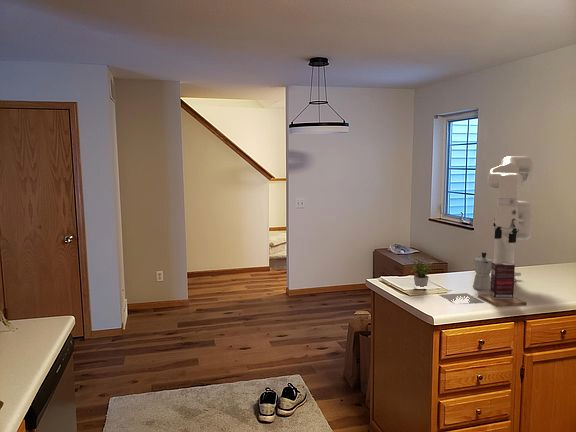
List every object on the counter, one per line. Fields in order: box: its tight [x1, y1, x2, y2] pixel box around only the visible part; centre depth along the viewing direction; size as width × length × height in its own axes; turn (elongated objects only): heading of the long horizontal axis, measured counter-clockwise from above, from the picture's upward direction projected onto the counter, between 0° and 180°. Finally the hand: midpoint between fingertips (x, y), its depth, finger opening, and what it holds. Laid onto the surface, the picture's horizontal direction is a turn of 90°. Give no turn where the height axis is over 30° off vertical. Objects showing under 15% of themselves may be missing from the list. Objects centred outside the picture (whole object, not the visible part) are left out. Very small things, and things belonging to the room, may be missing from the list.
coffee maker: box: [472, 252, 494, 291], centre depth 216 cm, size 15×9×18 cm, turn 168°
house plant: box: [408, 256, 436, 287], centre depth 215 cm, size 14×14×16 cm
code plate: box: [440, 292, 485, 304], centre depth 200 cm, size 14×14×1 cm
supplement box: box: [489, 262, 516, 299], centre depth 196 cm, size 9×5×16 cm, turn 87°
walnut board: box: [477, 293, 527, 308], centre depth 196 cm, size 14×14×1 cm
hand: (504, 240), depth 193 cm, fingers open, 9 cm apart
